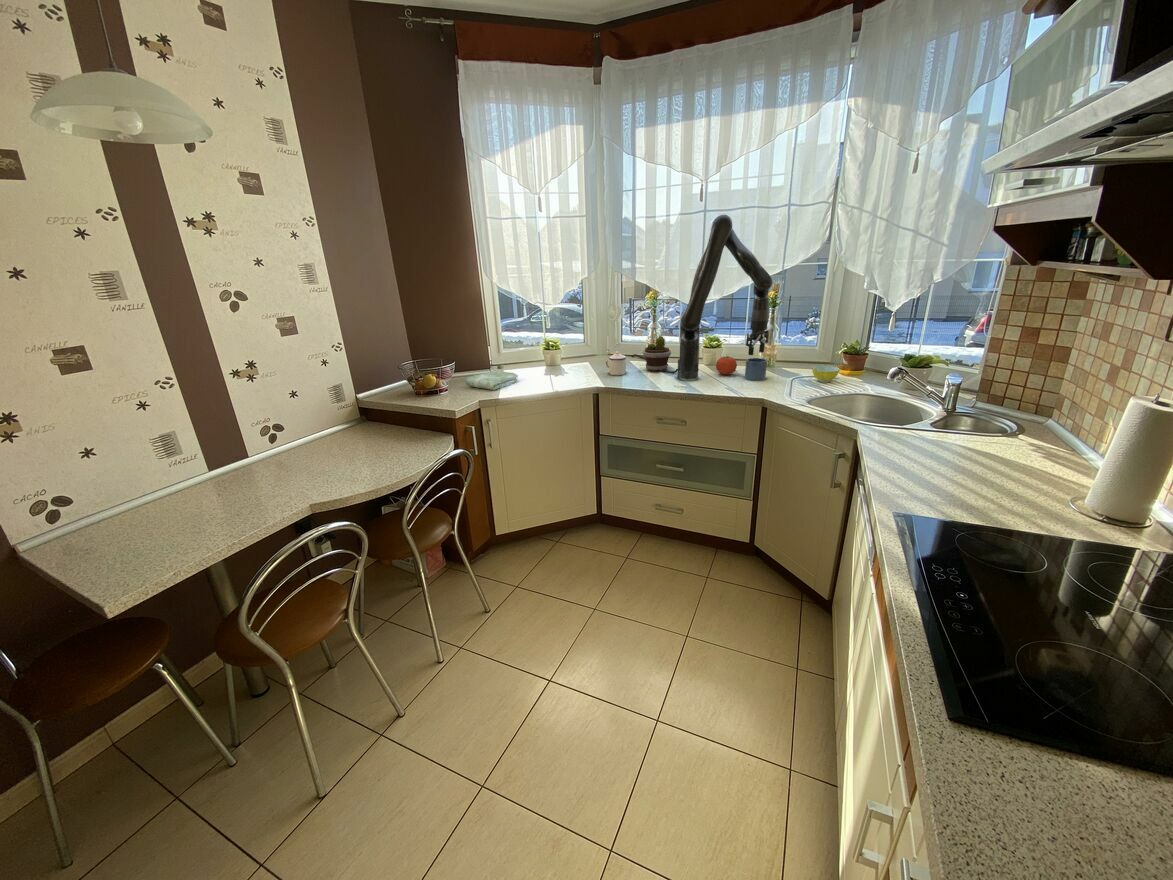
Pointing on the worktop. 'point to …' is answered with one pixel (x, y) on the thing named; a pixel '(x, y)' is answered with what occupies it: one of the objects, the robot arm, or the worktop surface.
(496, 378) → the towel
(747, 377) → the cup
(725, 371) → the tomato
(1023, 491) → the worktop surface
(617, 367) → the teacup with lid
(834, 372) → the bowl
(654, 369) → the flowerpot
